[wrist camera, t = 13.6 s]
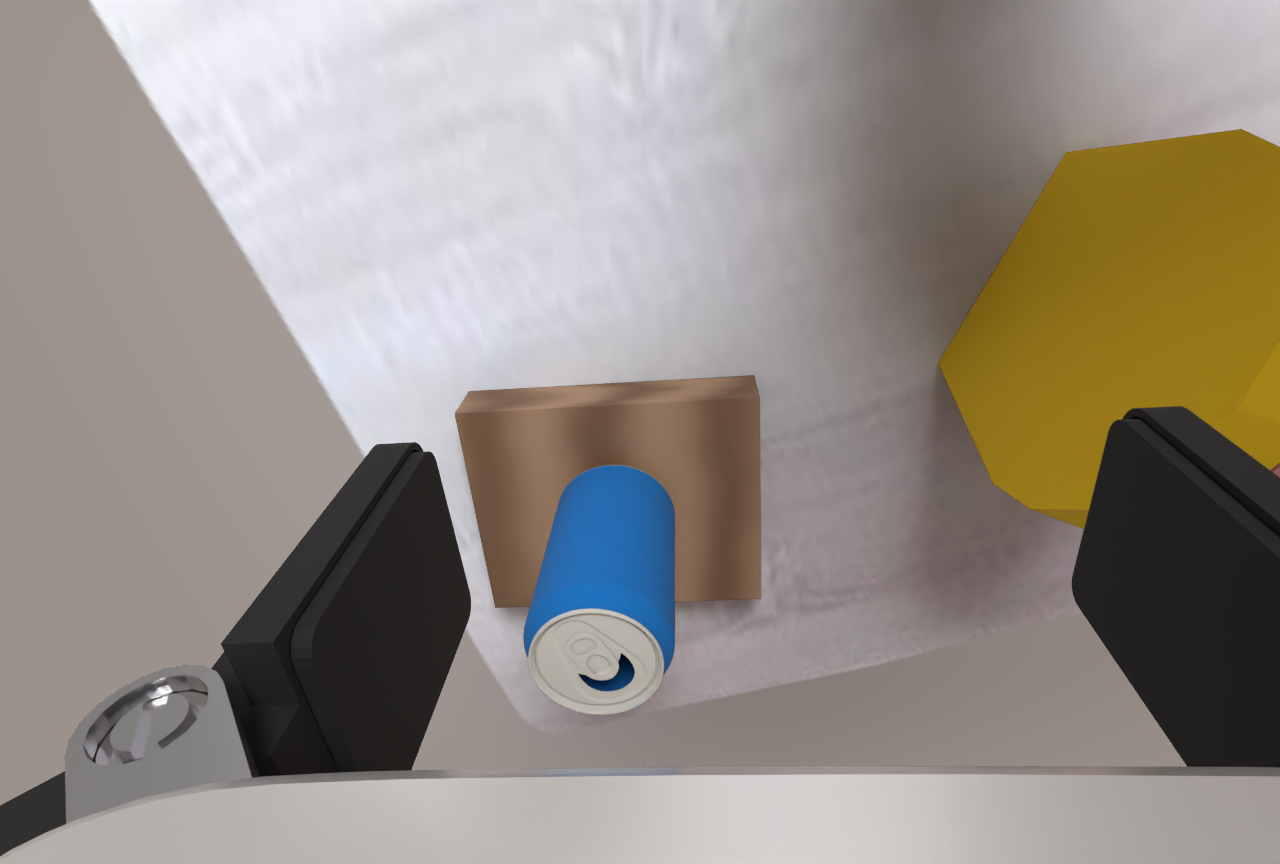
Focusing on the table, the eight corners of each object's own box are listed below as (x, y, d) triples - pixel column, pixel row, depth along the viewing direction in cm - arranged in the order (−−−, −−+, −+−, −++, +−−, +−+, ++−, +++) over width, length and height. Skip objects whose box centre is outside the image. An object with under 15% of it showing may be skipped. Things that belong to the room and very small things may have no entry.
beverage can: (602, 573, 43) (577, 742, 32) (536, 492, 40) (485, 645, 30) (696, 524, 41) (704, 685, 30) (633, 437, 38) (616, 578, 28)
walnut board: (754, 375, 40) (759, 397, 37) (756, 567, 46) (761, 598, 43) (469, 391, 41) (454, 413, 38) (505, 577, 47) (495, 607, 44)
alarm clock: (1050, 441, 41) (1303, 688, 24) (921, 390, 40) (1093, 613, 23) (1238, 181, 34) (1751, 280, 18) (1089, 114, 33) (1488, 153, 17)
